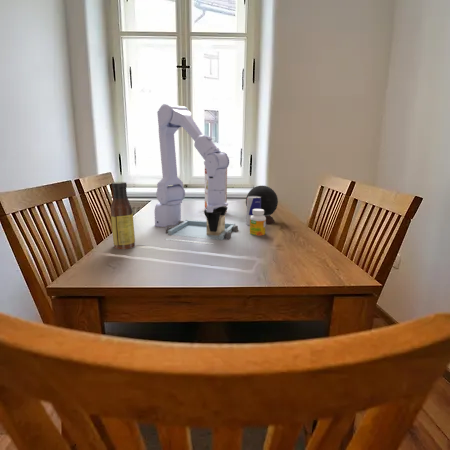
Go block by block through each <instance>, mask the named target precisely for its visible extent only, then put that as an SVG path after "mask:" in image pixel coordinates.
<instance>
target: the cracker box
mask: <svg viewBox="0 0 450 450" xmlns="http://www.w3.org/2000/svg"><path fill="white" fill-rule="evenodd" d="M227 194H228V168H227V169H225V203H228V202H227V199H228V197H227V196H228V195H227ZM207 202H208V175H207V170H206V168H205V167H204V208H205V209H207ZM223 207H227V208H228V206H223ZM227 211H228V210H227ZM227 211H226V213H227Z"/></svg>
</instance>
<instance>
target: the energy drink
mask: <svg viewBox="0 0 450 450" xmlns="http://www.w3.org/2000/svg"><path fill="white" fill-rule="evenodd" d="M253 209H261V197H259V196H248V198H247V206H246V218H245V220H246V221H245V222H246V223H245V224H246V225H247V226H249V227H250V217H251V216H252V215H253V214H252V211H253Z"/></svg>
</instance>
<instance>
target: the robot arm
mask: <svg viewBox="0 0 450 450" xmlns="http://www.w3.org/2000/svg"><path fill="white" fill-rule="evenodd" d="M156 113H157V121H158V122H157V123H158V124H157V125H158V138H159V139H158V140H159V150H160V151H159V152H160V160H161V173H162V178H161V179H160V180H159V182H157V183H156V185H157V187H156V189H157V190H156V199H157V202H158V203H156V204H155V205H154V227H159V228H160V227H161V228H162V227H163V228H167V227H169V226H177V225H178V222H179V221H182V211H181V210H182V203H183V201H184V199H185V198H186V189H185V188H184V183H183V181H182V180H181V178H179V177H178V167H177V157H176V156H177V154H176V143H175V142H176V141H175V134H176V132H177V131H178V130H179V129H181V128H183V129H184V131H185V132H187V134H188V135H189V137H190V138H192V140H193V141H194V143H193V145H194V148H195V150H197V152H198V153H199V155H200V156H201V158H203V160H204V161H203V164H204V169H205V168H206V170H207V175H208V202H207V208H206V209H205V210H203V214H204V215H205V218H206V221H207V220H208V224H209V229H210V231H212V232H216V231H217V227H218V221H219V217H220V215H225V216H226V213H227V212H226V211H228V205H229V203H228V202H227V203H225V169H227V170H228V167H229V165H230V158H229V156H228V154H227V152H224V151H223V152H222V151H221V150H220V148H219V147H218V146H216V144H215V143H214V141H213V140H212V139H213V138H212V137H211V136H210V135H207V134H203V133H202V131H201V130H200V128H199V127H198V125H197V123H196V122H195V120H194V119H193V117H192V112H191V110H189V109H188V107H187V106H183V105H174V104H173V105H172V104H168V103H163V104H161V106H160V107H159V108H158V110H157V112H156ZM223 206H227V207H223Z"/></svg>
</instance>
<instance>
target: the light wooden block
mask: <svg viewBox="0 0 450 450" xmlns="http://www.w3.org/2000/svg"><path fill="white" fill-rule="evenodd" d="M206 221H207V233H206V235H217V236H219V235H220V234H221V233H223V232H224V231H225V223H226V214H225V215H220V217H219V221H218V227H217V231H216V232H212V231H210V229H209V224H208V220H207V219H206Z"/></svg>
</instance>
